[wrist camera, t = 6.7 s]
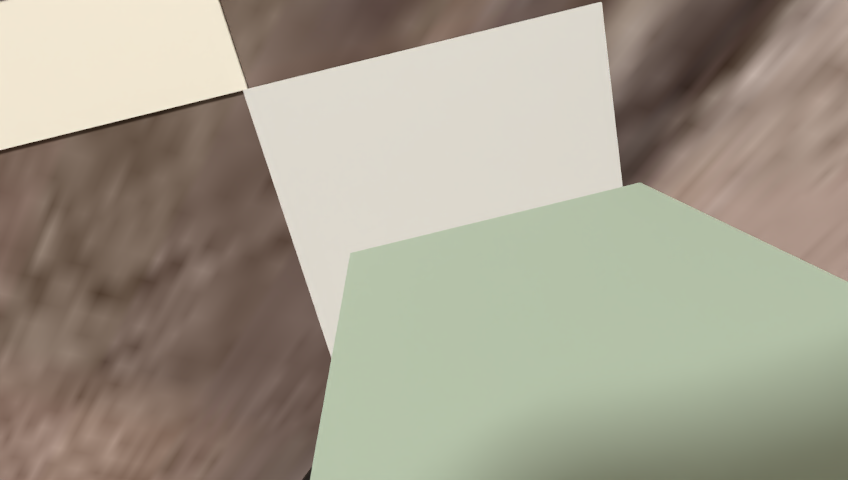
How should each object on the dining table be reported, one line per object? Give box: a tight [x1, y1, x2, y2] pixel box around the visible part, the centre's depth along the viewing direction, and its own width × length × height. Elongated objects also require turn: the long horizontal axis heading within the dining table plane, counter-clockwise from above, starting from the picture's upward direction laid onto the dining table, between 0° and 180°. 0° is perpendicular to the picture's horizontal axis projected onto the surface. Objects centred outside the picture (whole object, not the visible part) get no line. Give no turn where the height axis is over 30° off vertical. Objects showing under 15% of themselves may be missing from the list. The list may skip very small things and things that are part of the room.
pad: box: [243, 2, 623, 358], centre depth 17 cm, size 10×11×1 cm
